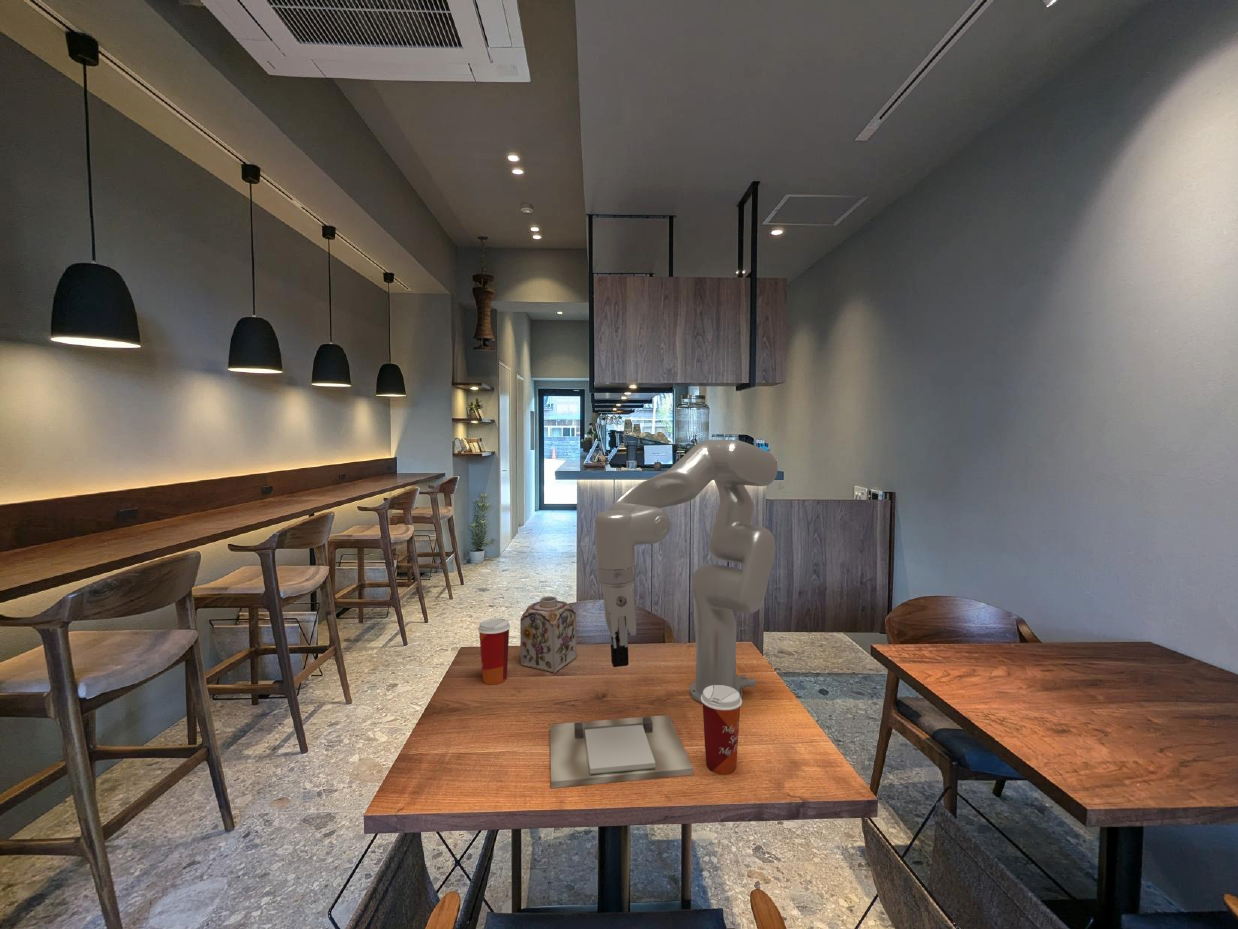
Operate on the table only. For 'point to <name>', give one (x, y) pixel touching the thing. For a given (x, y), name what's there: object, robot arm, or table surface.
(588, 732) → the glazed tile
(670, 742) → the tile board
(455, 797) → the table surface
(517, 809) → the table surface
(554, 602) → the decorative jar
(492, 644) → the coffee cup
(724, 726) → the paper cup
